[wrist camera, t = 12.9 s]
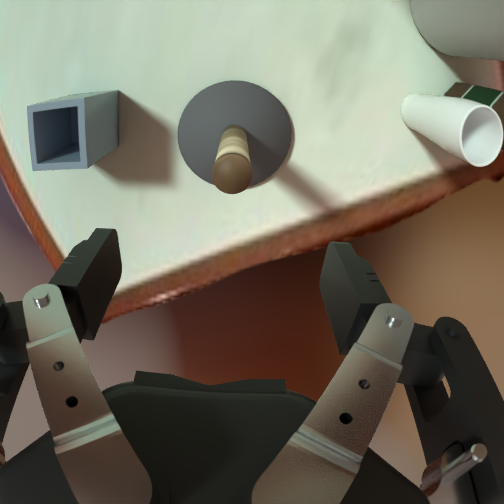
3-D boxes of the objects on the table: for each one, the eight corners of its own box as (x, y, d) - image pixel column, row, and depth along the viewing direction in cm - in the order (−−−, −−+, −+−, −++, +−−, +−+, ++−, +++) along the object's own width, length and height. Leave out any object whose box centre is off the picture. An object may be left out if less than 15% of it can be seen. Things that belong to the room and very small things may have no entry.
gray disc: (181, 78, 34) (180, 78, 33) (296, 86, 35) (297, 86, 35) (178, 183, 41) (176, 185, 41) (282, 189, 42) (283, 192, 42)
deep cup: (68, 95, 34) (27, 106, 25) (118, 90, 34) (84, 97, 26) (70, 148, 38) (32, 170, 29) (118, 145, 38) (87, 168, 30)
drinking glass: (390, 89, 35) (457, 105, 22) (431, 86, 34) (503, 103, 22) (397, 137, 39) (460, 172, 26) (436, 131, 38) (503, 164, 25)
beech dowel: (222, 123, 37) (212, 154, 23) (247, 125, 37) (254, 156, 23) (220, 147, 38) (211, 192, 25) (245, 148, 39) (250, 195, 25)
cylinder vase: (472, 68, 32) (608, 103, 11) (404, 39, 31) (550, 40, 10) (477, -1, 26) (605, 0, 4) (409, -35, 25) (536, -77, 3)
